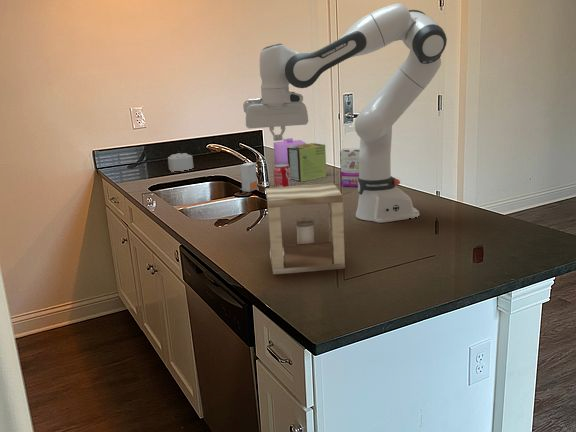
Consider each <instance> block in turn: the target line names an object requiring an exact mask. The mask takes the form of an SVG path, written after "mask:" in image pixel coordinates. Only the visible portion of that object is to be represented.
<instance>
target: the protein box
mask: <svg viewBox="0 0 576 432" xmlns="http://www.w3.org/2000/svg"><path fill="white" fill-rule="evenodd" d="M326 153H327V152H326V144H321V143H317V142H310V143H307V144H303V145H297V146H291V147H287V155H288V164H289V167H290V173H291V181H296V182H300V183H304V182H308V181H312V180H317V178H318V179H323V178H327V157H326V156H327V155H326ZM322 177H323V178H322Z"/></svg>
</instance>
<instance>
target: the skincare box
mask: <svg viewBox="0 0 576 432" xmlns="http://www.w3.org/2000/svg"><path fill="white" fill-rule="evenodd" d="M256 166H257V165H256V162H246V163H243V164H240V177H241V178H240V179H241V191H242V192H248V193H250V192H253V191H255V190H258V182H257V181H258V180H257V168H256Z"/></svg>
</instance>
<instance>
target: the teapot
mask: <svg viewBox="0 0 576 432" xmlns="http://www.w3.org/2000/svg"><path fill="white" fill-rule="evenodd" d="M303 144H308V143H307V142H305V141H303V140H301V139H296V140H294V138H292V137H291V138H290V137H289V138H283V140H282V141H273V154H274V155H273V156H274V165H277V164H288V155H287V147H291V146H297V145H303Z"/></svg>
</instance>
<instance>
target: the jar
mask: <svg viewBox="0 0 576 432" xmlns="http://www.w3.org/2000/svg"><path fill="white" fill-rule="evenodd" d="M294 221H295V226H296V241H297V244H307V243H315V233H314V232H315V231H314V229H315V228H314V224H315V220H314V219H313V218H310V217H300V218H297V219H295V220H294Z"/></svg>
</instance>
